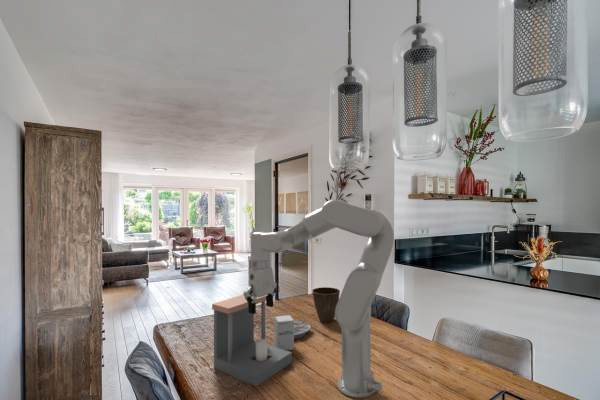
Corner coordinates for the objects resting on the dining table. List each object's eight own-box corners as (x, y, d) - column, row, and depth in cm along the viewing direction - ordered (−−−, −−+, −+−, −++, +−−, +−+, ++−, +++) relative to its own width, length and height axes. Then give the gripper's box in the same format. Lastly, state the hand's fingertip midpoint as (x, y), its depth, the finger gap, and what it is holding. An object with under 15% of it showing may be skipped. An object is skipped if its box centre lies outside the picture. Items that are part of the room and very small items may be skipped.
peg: (269, 367, 118) (269, 340, 119) (261, 372, 115) (262, 344, 115) (261, 364, 121) (261, 337, 121) (253, 368, 117) (253, 341, 118)
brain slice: (318, 336, 147) (318, 330, 147) (285, 343, 140) (285, 336, 140) (300, 323, 165) (300, 317, 165) (270, 328, 158) (270, 322, 158)
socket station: (292, 362, 122) (292, 300, 123) (255, 387, 105) (254, 315, 106) (251, 347, 135) (251, 292, 136) (211, 367, 118) (212, 304, 119)
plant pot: (307, 318, 172) (307, 288, 172) (331, 314, 178) (330, 285, 179) (320, 327, 158) (320, 295, 159) (345, 322, 165) (345, 292, 165)
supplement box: (277, 352, 131) (277, 321, 131) (274, 344, 138) (274, 316, 138) (294, 350, 133) (294, 320, 133) (290, 342, 140) (290, 314, 140)
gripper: (251, 269, 110) (252, 318, 109) (282, 262, 124) (283, 305, 123) (237, 267, 114) (237, 314, 113) (268, 260, 128) (268, 302, 127)
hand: (261, 309), depth 118 cm, fingers open, 9 cm apart
